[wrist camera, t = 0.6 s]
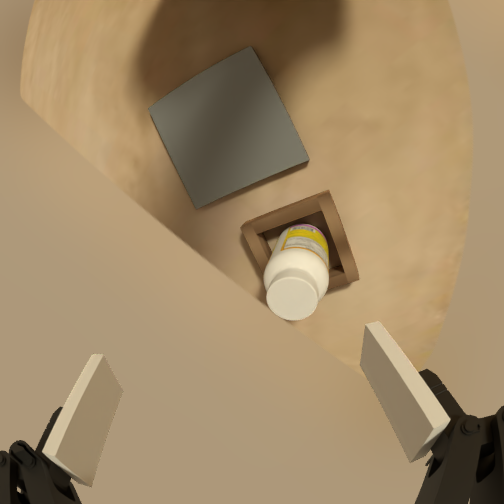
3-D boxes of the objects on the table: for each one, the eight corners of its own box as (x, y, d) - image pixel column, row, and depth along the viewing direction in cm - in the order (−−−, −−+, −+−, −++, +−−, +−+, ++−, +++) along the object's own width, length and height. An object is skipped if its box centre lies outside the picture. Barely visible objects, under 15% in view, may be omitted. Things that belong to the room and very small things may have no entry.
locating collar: (245, 221, 36) (240, 227, 34) (328, 189, 32) (329, 193, 30) (280, 293, 39) (277, 303, 37) (357, 270, 35) (359, 279, 33)
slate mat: (151, 108, 33) (147, 108, 32) (252, 48, 27) (250, 45, 26) (199, 207, 37) (196, 209, 36) (309, 159, 31) (309, 160, 30)
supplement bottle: (299, 277, 38) (285, 339, 26) (267, 241, 37) (239, 292, 25) (338, 250, 35) (343, 307, 23) (307, 211, 34) (296, 252, 22)
